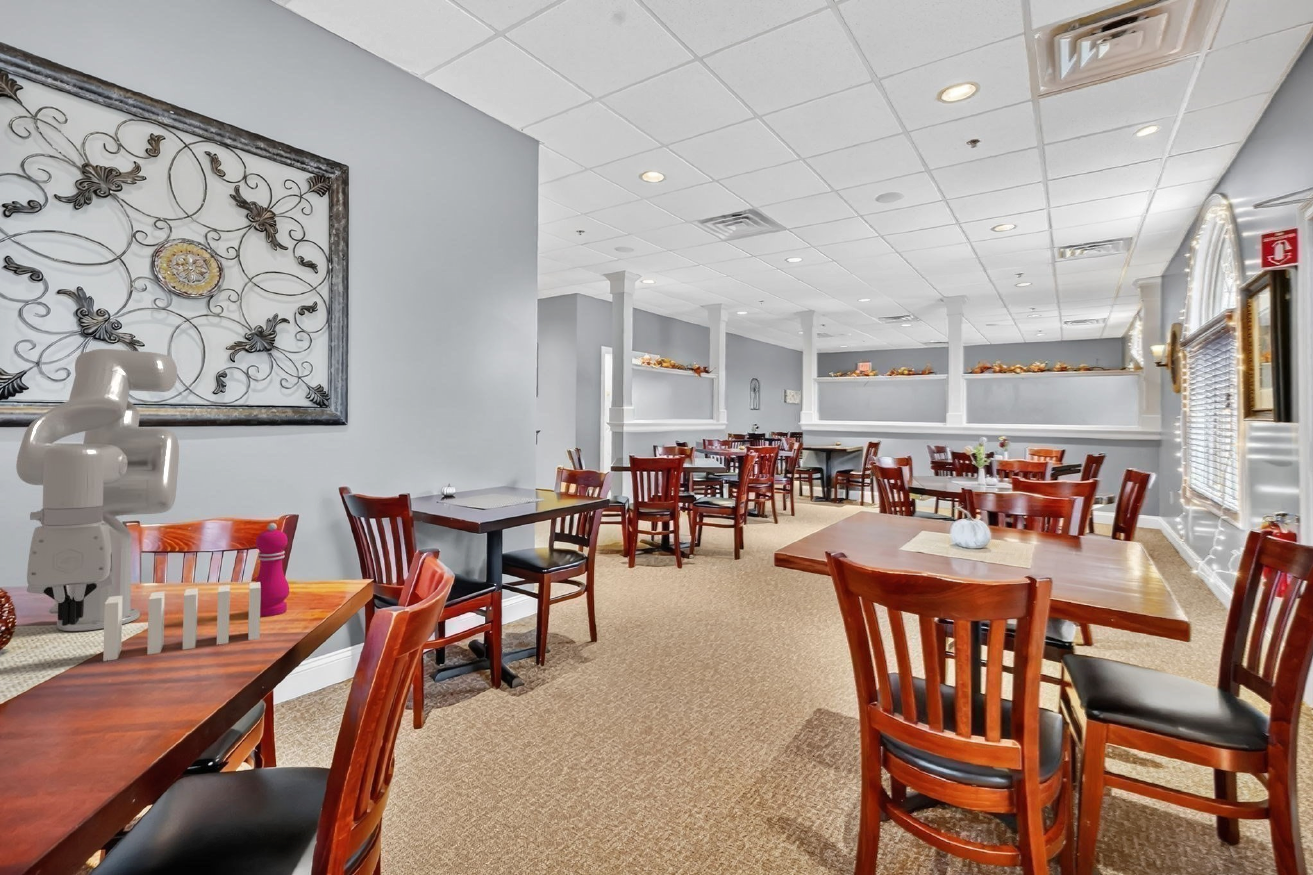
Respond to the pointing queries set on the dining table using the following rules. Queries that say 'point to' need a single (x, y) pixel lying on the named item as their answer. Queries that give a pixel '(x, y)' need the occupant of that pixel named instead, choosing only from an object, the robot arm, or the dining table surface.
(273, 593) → the pepper mill
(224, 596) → the domino
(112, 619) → the domino loose
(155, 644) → the domino
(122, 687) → the dining table surface
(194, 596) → the domino
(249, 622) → the domino
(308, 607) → the dining table surface
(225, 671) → the dining table surface
